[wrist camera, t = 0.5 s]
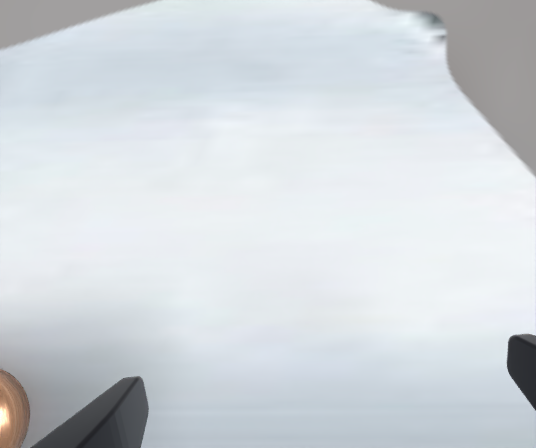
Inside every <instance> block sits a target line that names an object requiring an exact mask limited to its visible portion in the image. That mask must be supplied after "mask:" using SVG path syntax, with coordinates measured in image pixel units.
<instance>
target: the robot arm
mask: <svg viewBox="0 0 536 448" xmlns="http://www.w3.org/2000/svg"><path fill="white" fill-rule="evenodd" d="M507 369H508V372H509V374H510V376H511V377H512V379H513V380H514V382H515V383H516V384H517V386H518V387H519V388H520V390H521V391H522V393H523V394H524V395H525V397H526V398H527V399H528V401H529V402H530V404H531V405H532V406H533V408H534V409H535V410H536V336H535V335H532V334H520V335H513V336H511V337H510V338H509V341H508V354H507ZM148 409H149V408H148V401H147V397H146V392H145V387H144V382H143V380H142V378H141V377H139V376H136V377H127V378H123V379H121V380H120V381H119V382H117V383H116V384H115V385H113V386H112V387H111V388H109V389H108V390H107V391H105V392H104V393H103V394H101V395H100V396H99V397H97V398H96V399H95V400H93V401H92V402H91V403H89V404H88V405H87V406H85V407H84V408H83V409H81V410H80V411H79V412H77V413H76V414H75V415H73V416H72V417H71V418H69V419H68V420H67V421H66V422H64V423H63V424H62V425H60V426H59V427H58V428H56V429H55V430H54V431H52V432H51V433H50V434H48V435H47V436H46V437H44V438H43V439H42V440H40V441H39V442H38V443H36V444H35V445H34V446H32V447H31V448H141V444H142V439H143V435H144V431H145V426H146V422H147V418H148Z"/></svg>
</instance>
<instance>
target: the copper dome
mask: <svg viewBox="0 0 536 448" xmlns="http://www.w3.org/2000/svg"><path fill="white" fill-rule="evenodd" d="M29 419H30V408H29V402H28V398H27V395H26V393H25V391H24V389H23V387H22V386H21V384H20V383H19V382H18V381H17V380H16V379H15V377H13V376H12V375H11V374H9V373H8V372H6V371H4V370H2V369H0V448H20V447H21V445H22V443H23V441H24V439H25V436H26V433H27V430H28V426H29Z"/></svg>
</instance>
